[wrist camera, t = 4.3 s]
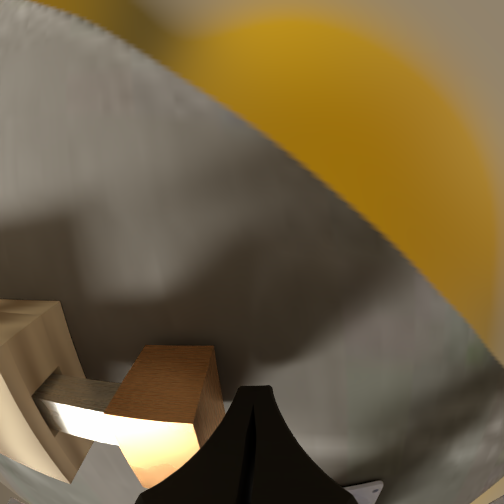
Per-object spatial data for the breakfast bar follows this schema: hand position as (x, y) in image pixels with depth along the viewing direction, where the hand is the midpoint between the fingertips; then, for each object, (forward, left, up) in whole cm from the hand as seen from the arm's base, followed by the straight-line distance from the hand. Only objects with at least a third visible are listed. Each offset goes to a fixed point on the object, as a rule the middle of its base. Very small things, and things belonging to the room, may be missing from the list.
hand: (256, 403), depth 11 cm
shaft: (0, +10, -1) cm, 10 cm away
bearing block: (0, +14, -2) cm, 14 cm away
